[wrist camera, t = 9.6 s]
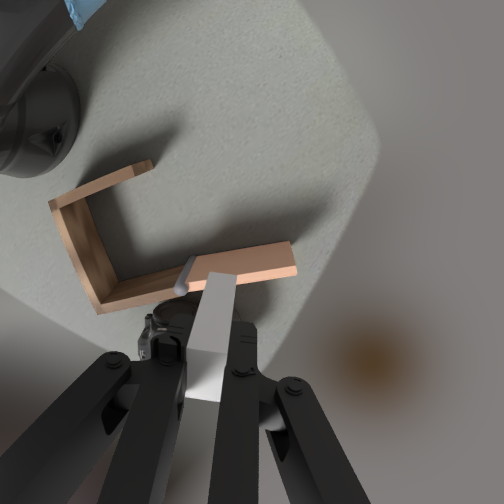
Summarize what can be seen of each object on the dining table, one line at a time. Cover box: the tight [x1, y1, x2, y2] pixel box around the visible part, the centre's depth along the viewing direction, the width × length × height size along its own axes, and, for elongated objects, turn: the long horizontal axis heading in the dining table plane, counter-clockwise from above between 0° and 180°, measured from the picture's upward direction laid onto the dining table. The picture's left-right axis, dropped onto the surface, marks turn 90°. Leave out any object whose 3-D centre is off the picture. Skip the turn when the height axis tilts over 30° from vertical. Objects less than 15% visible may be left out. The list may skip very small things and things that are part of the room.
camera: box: [138, 301, 241, 361], centre depth 37 cm, size 13×10×10 cm
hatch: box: [174, 241, 297, 296], centre depth 34 cm, size 12×2×7 cm, turn 101°
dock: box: [48, 159, 185, 315], centre depth 35 cm, size 14×11×6 cm
